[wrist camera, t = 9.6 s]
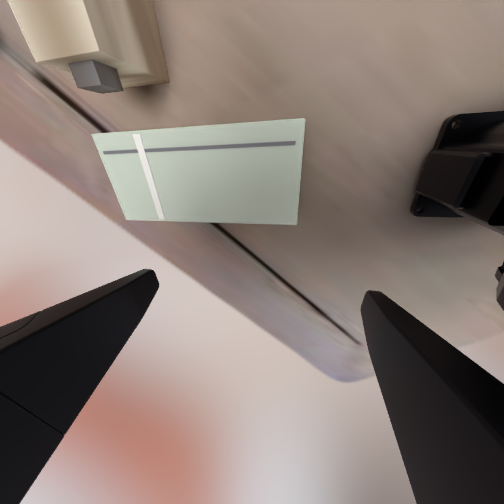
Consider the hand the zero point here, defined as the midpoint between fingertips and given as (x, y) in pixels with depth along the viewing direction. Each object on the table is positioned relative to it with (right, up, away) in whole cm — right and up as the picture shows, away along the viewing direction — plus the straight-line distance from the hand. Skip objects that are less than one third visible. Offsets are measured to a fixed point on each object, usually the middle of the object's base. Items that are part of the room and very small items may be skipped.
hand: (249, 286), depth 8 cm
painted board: (-4, +8, +9) cm, 13 cm away
